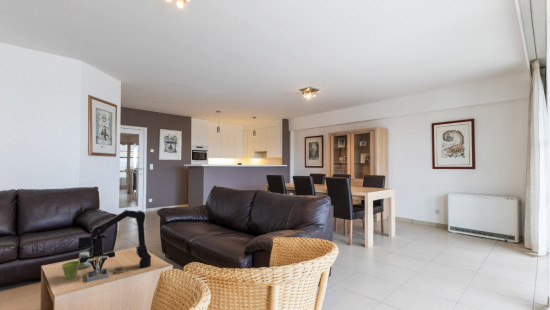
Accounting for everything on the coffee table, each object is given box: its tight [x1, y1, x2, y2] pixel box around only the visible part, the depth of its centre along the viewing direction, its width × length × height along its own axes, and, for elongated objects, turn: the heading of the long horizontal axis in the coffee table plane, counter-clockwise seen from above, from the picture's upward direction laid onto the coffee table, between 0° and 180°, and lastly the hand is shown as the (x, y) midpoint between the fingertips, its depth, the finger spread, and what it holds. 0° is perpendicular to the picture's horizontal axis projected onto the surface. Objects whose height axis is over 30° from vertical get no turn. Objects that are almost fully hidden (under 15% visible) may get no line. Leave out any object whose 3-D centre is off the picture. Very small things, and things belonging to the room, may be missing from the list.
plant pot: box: [61, 260, 80, 280], centre depth 173 cm, size 9×9×9 cm
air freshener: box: [76, 251, 92, 270], centre depth 190 cm, size 11×8×10 cm
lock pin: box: [94, 257, 102, 275], centre depth 172 cm, size 4×4×9 cm
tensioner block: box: [109, 266, 129, 277], centre depth 180 cm, size 10×11×2 cm
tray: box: [86, 267, 110, 283], centre depth 172 cm, size 11×11×3 cm
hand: (97, 269), depth 172 cm, fingers closed on lock pin, 3 cm apart
